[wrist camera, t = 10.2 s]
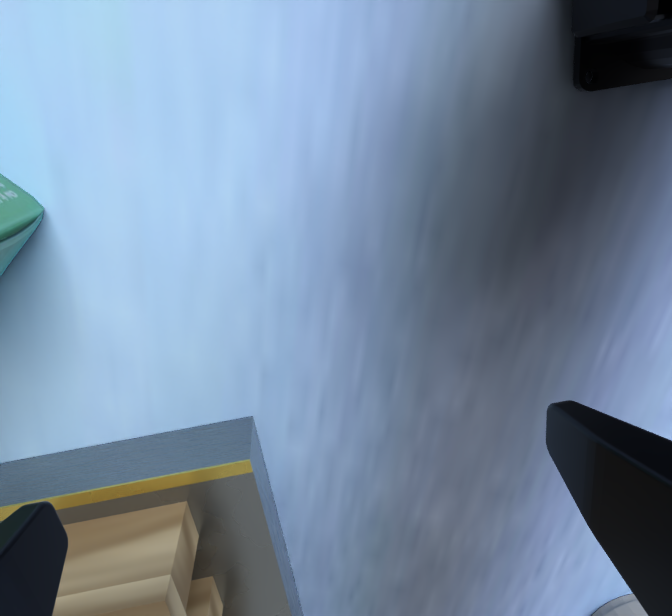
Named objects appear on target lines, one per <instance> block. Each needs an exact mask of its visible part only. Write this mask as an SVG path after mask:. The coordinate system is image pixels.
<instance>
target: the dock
mask: <svg viewBox="0 0 672 616" xmlns="http://www.w3.org/2000/svg"><path fill="white" fill-rule="evenodd" d="M41 501H48V502H50V503H51V504H52V505H53V506H54V508H55V510H56V512H57V514H58V516H59V518H60V520H61V523H62V525H67V524H72V523H77V522H83V521H88V520H93V519H98V518H103V517H108V516H113V515H118V514H123V513H129V512H134V511H139V510H144V509H149V508H154V507H159V506H164V505H169V504H174V503H180V502H185V501H187V503H188V506H189V509H190V512H191V515H192V518H193V521H194V523H195V526H196V529H197V532H198V535H199V538H198V544H197V550H196V555H195V561H194V567H193V573H192V578H191V581H192V580H197V579H202V578H206V577H211V576H213V578H214V581H215V584H216V587H217V590H218V593H219V595H220V598H221V601H222V604H223V612H222V616H303V613H302V609H301V605H300V601H299V597H298V593H297V589H296V585H295V581H294V577H293V573H292V569H291V565H290V561H289V557H288V553H287V549H286V545H285V541H284V538H283V534H282V530H281V526H280V522H279V518H278V514H277V510H276V506H275V502H274V498H273V494H272V490H271V486H270V482H269V478H268V474H267V470H266V466H265V462H264V459H263V455H262V451H261V447H260V443H259V439H258V435H257V431H256V427H255V423H254V419H253V416H251V417H246V418H241V419H235V420H230V421H225V422H219V423H214V424H209V425H203V426H198V427H193V428H187V429H182V430H177V431H171V432H166V433H161V434H155V435H150V436H145V437H139V438H134V439H129V440H123V441H118V442H113V443H107V444H102V445H97V446H91V447H86V448H81V449H75V450H70V451H65V452H59V453H54V454H49V455H43V456H38V457H33V458H27V459H22V460H17V461H12V462H6V463H1V464H0V523H1V522H2V521H3V520H4V519H6V518H7V517H8V516H10V515H11V514H12V513H13V512H15V511H16V510H17V509H18V508H20V507H21V506H23V505H26V504H30V503H36V502H41Z"/></svg>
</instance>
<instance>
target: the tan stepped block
mask: <svg viewBox="0 0 672 616" xmlns="http://www.w3.org/2000/svg"><path fill="white" fill-rule="evenodd" d="M63 527H64V529H65V531H66V533H67V536H68V550H67V555H66V559H65V563H64V567H63V572H62V576H61V580H60V585H59V589H58V593H57V597H56V602H55V606H54V610H53V615H52V616H222V612H223V604H222V601H221V598H220V595H219V593H218V590H217V587H216V584H215V581H214V578H213V576H211V577H206V578H202V579H197V580H192V581H191V578H192V573H193V567H194V561H195V555H196V550H197V544H198V538H199V535H198V532H197V529H196V526H195V523H194V521H193V518H192V515H191V512H190V509H189V506H188V503H187V501H185V502H180V503H174V504H169V505H164V506H159V507H154V508H149V509H144V510H139V511H134V512H129V513H123V514H118V515H113V516H108V517H103V518H98V519H93V520H88V521H83V522H77V523H72V524H67V525H63Z"/></svg>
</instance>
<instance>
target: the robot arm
mask: <svg viewBox="0 0 672 616" xmlns="http://www.w3.org/2000/svg"><path fill="white" fill-rule="evenodd" d="M572 32H573V33H574V35H575V46H574V69H573V82H574V86H575V87H576V89H578V90H579V91H596V90H602V89H608V88H614V87H620V86H627V85H633V84H639V83H645V82H652V81H658V80H664V79H670V78H672V0H573V11H572ZM589 70H590V71H591V72H592V79H591V81H590V82H589V83H587V82H586V79H585V77H586V74H587V72H588V71H589ZM546 445H547V449H548V451H549V454H550V456H551V458H552V459H553V461H554V463H555V465H556V467H557V469H558V471H559V473H560V474H561V476H562V478H563V480H564V482H565V484H566V486H567V488H568V489H569V491H570V493H571V495H572V497H573V499H574V501H575V503H576V504H577V506H578V508H579V510H580V512H581V514H582V516H583V517H584V519H585V521H586V523H587V525H588V526H589V528H590V530H591V531H592V533H593V534H594V536H595V537H596V539H597V541H598V542H599V543H600V545H601V546H602V548H603V549H604V551H605V552H606V554H607V555H608V557H609V558H610V560H611V561H612V563H613V564H614V566H615V567H616V569H617V570H618V572H619V573H620V575H621V576H622V578H623V579H624V581H625V582H626V584H627V585H628V586H629V588H630V589H631V591H632V592H633V594H634V595H635V597H636V598H637V600H638V601H639V603H640V604H641V606H642V607H643V609H644V610H645V612H646V613H647V615H648V616H672V441H671V440H669V439H666V438H664V437H661V436H659V435H656V434H654V433H651V432H649V431H646V430H644V429H641V428H639V427H637V426H634V425H632V424H629V423H627V422H624V421H622V420H619V419H617V418H614V417H612V416H609V415H607V414H604V413H602V412H599V411H597V410H595V409H592V408H590V407H587V406H585V405H582V404H580V403H577V402H575V401H571V400H568V401H562V402H557V403H552V404H550V405H549V406H548V408H547V420H546ZM67 550H68V536H67V533H66V531H65V529H64V527H63V525H62V523H61V520H60V518H59V516H58V514H57V512H56V510H55V508H54V506H53V505H52V504H51V503H50V502H48V501H41V502H36V503H30V504H26V505H23V506H21V507H20V508H18V509H17V510H16V511H15V512H13V513H12V514H11V515H10V516H8V517H7V518H6V519H4V520H3V521H2V522H1V523H0V616H52V615H53V610H54V606H55V602H56V597H57V593H58V589H59V585H60V580H61V576H62V572H63V567H64V563H65V559H66V555H67Z"/></svg>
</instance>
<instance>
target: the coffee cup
mask: <svg viewBox="0 0 672 616" xmlns="http://www.w3.org/2000/svg"><path fill="white" fill-rule="evenodd" d="M592 616H648V615H647V613H646V612H645V610H644V609H643V607H642V606H641V604H640V603H639V601H638V600H637V598H636V597H635V595H634V594H629V595H625V596H622V597H619V598H617V599H614V600H612V601H610V602H608V603H607V604H605V605H604V606H602V607H601V608H599V609H598V610H597V611H596V612H595V613H594V614H593V615H592Z"/></svg>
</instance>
